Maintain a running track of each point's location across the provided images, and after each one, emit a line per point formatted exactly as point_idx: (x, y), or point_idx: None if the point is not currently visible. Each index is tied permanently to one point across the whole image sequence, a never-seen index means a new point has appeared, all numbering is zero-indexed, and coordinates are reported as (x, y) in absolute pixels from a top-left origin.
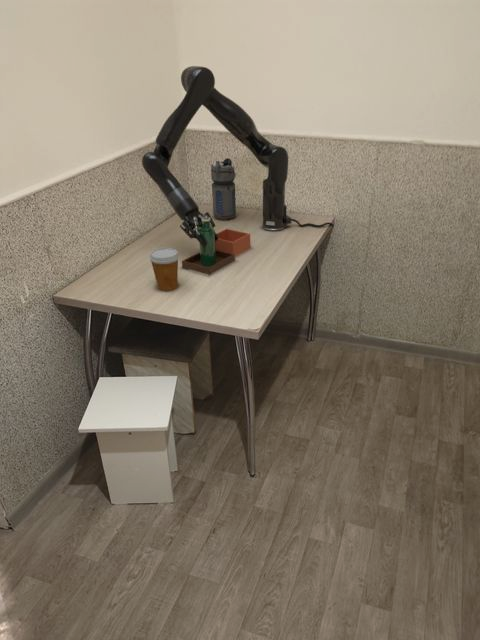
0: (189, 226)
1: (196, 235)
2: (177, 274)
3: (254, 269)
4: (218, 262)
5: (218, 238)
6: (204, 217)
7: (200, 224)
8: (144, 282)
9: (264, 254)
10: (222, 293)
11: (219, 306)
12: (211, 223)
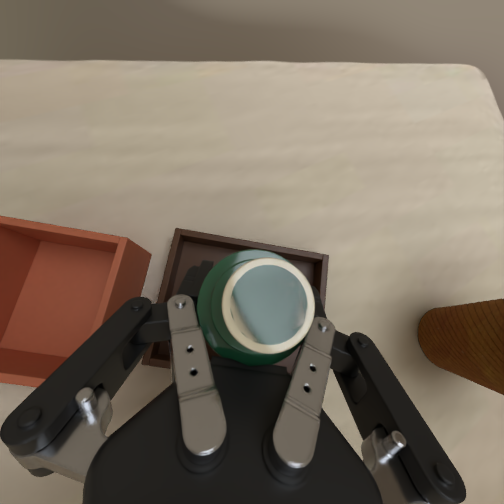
0: (390, 409)
1: (340, 334)
2: (466, 305)
3: (218, 159)
4: (268, 248)
5: (32, 366)
6: (244, 336)
7: (250, 370)
8: (464, 435)
9: (87, 171)
10: (392, 178)
11: (449, 158)
12: (139, 324)
